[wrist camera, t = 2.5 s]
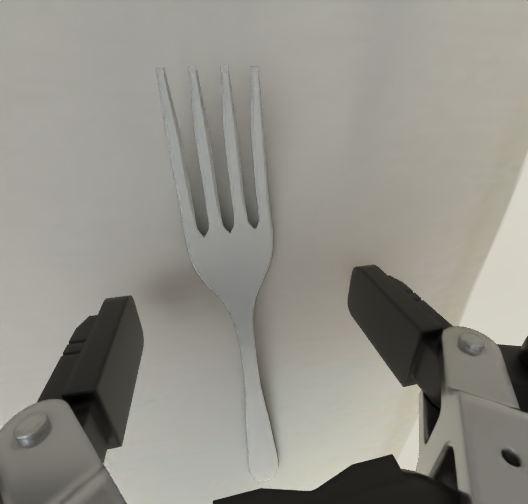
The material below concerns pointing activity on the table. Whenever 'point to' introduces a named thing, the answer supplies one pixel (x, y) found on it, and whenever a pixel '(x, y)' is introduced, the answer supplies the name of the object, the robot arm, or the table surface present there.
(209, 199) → the fork
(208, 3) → the table surface
